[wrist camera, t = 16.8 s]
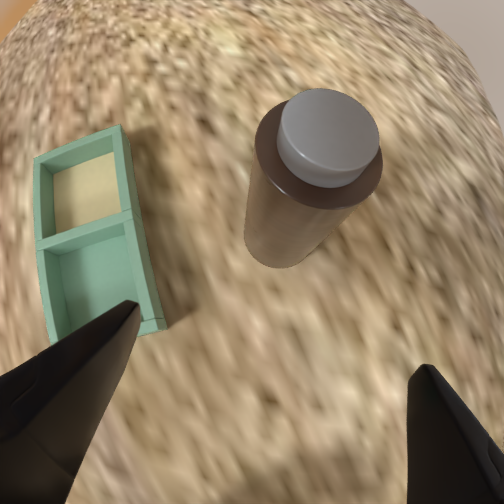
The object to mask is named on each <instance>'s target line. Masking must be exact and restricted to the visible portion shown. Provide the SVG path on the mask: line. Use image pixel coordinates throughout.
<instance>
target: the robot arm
mask: <svg viewBox="0 0 504 504" xmlns="http://www.w3.org/2000/svg"><path fill="white" fill-rule="evenodd" d="M140 325H141V315H140V304H139V303H138V302H135V301H132V300H128V299H127V300H124V301H123V302H121V303H119V304H118V305H116V306H114V307H113V308H111V309H109V310H108V311H106V312H105V313H103V314H101V315H100V316H98V317H96V318H95V319H93V320H91V321H90V322H88V323H87V324H85V325H83V326H82V327H80V328H79V329H77V330H75V331H74V332H72V333H71V334H69V335H67V336H66V337H64V338H63V339H61V340H59V341H58V342H56V343H55V344H53V345H51V346H50V347H48V348H47V349H45V350H44V351H42V352H40V353H39V354H38V355H37V356H34V357H32V358H31V359H29V360H28V361H26V362H24V363H23V364H21V365H19V366H18V367H16V368H14V369H13V370H11V371H9V372H7V373H5V374H3V375H1V376H0V504H65V502H66V499H67V497H68V494H69V492H70V490H71V487H72V485H73V482H74V479H75V477H76V475H77V472H78V470H79V468H80V465H81V463H82V461H83V458H84V456H85V454H86V452H87V449H88V447H89V445H90V443H91V440H92V438H93V436H94V434H95V432H96V429H97V427H98V425H99V423H100V421H101V419H102V416H103V414H104V412H105V410H106V408H107V406H108V404H109V402H110V399H111V397H112V395H113V393H114V391H115V389H116V387H117V385H118V383H119V381H120V379H121V377H122V375H123V373H124V370H125V368H126V365H127V362H128V359H129V356H130V354H131V351H132V348H133V345H134V343H135V340H136V337H137V335H138V332H139V329H140ZM407 453H408V483H407V504H504V454H503V453H502V451H501V450H500V449H499V447H498V446H497V445H496V444H495V442H494V441H493V439H492V438H491V437H489V434H488V433H487V431H486V430H485V429H484V428H483V426H482V425H481V424H480V422H479V421H478V420H477V418H476V417H475V416H474V415H473V413H472V412H471V411H470V409H469V408H468V407H467V406H466V404H465V403H464V402H463V401H462V399H461V398H460V397H459V396H458V394H457V393H456V392H455V391H454V389H453V388H452V387H451V386H450V384H449V383H448V382H447V381H446V380H445V378H444V377H443V376H442V375H441V374H440V372H439V371H438V370H437V369H436V368H435V366H433V365H431V364H422V365H421V366H420V367H419V368H418V369H417V370H416V371H415V373H414V374H413V375H412V376H411V377H410V379H409V381H408V397H407Z"/></svg>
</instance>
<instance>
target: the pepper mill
mask: <svg viewBox="0 0 504 504" xmlns="http://www.w3.org/2000/svg"><path fill="white" fill-rule="evenodd" d="M382 168H383V160H382V153H381V149H380V146H379V132H378V128H377V125H376V123H375V121H374V119H373V117H372V116H371V115H370V113H369V112H368V111H367V110H366V109H365V107H363V106H362V105H361V104H360V103H359V102H358V101H356V100H355V99H353V98H352V97H350V96H348V95H346V94H344V93H341V92H338V91H335V90H330V89H322V88H317V89H309V90H305V91H303V92H300V93H298V94H296V95H295V96H294V97H292V98H291V99H290V100H287V101H285V102H282V103H280V104H278V105H277V106H275V107H274V108H272V109H271V110H270V111H269V112H268V113H267V114H266V115H265V116H264V117H263V119H262V120H261V122H260V124H259V126H258V128H257V132H256V136H255V144H254V152H253V160H252V169H251V177H250V185H249V193H248V202H247V210H246V218H245V227H244V239H245V243H246V246H247V248H248V250H249V252H250V253H251V255H252V256H253V257H254V258H255V259H256V260H257V261H259V262H260V263H262V264H264V265H266V266H268V267H272V268H288V267H291V266H294V265H296V264H297V263H299V262H300V261H302V260H303V259H304V258H305V257H306V256H307V255H308V254H309V253H310V252H311V251H312V250H314V249H315V248H316V247H317V246H318V245H319V244H320V243H321V242H322V241H323V240H324V239H325V238H326V237H327V236H328V235H329V234H331V233H332V232H333V231H334V230H335V229H336V228H337V227H338V226H339V225H340V224H341V223H342V222H343V221H344V220H345V219H346V218H347V217H348V216H349V215H350V214H351V213H352V212H353V211H355V210H356V209H357V208H358V207H359V206H360V205H361V204H362V203H363V202H364V201H365V200H366V199H367V198H368V197H369V196H370V195H371V194H372V193H373V191H374V190H375V189H376V187H377V185H378V183H379V181H380V178H381V174H382Z"/></svg>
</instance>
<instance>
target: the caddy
mask: <svg viewBox="0 0 504 504" xmlns="http://www.w3.org/2000/svg"><path fill="white" fill-rule="evenodd" d="M33 213H34V233H35V247H36V259H37V268H38V276H39V284H40V291H41V297H42V303H43V309H44V315H45V320H46V325H47V330H48V335H49V339H50V343H51V345H53V344H55V343H56V342H58V341H59V340H61V339H63V338H64V337H66V336H67V335H69V334H71V333H72V332H74V331H75V330H77V329H79V328H80V327H82V326H83V325H85V324H87V323H88V322H90V321H91V320H93V319H95V318H96V317H98V316H100V315H101V314H103V313H105V312H106V311H108V310H109V309H111V308H113V307H114V306H116V305H118V304H119V303H121V302H123V301H124V300H127V299H128V300H132V301H135V302H138V303H139V304H140V315H141V325H140V329H139V332H138V335H137V337H139V336H143V335H147V334H151V333H155V332H159V331H163V330H167V329H168V328H167V325H166V321H165V317H164V314H163V310H162V306H161V302H160V298H159V294H158V290H157V286H156V282H155V278H154V273H153V269H152V265H151V260H150V255H149V251H148V246H147V241H146V237H145V232H144V227H143V221H142V216H141V211H140V205H139V200H138V194H137V188H136V182H135V175H134V169H133V162H132V155H131V148H130V142H129V140H128V138H127V136H126V134H125V132H124V130H123V128H122V126H121V124H119V125H116V126H113V127H110V128H107V129H104V130H102V131H99V132H96V133H93V134H91V135H88V136H86V137H83V138H80V139H78V140H75V141H73V142H70V143H68V144H66V145H63V146H61V147H58V148H56V149H54V150H52V151H49V152H47V153H45V154H43V155H40V156H38V157H36V158H34V168H33Z"/></svg>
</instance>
